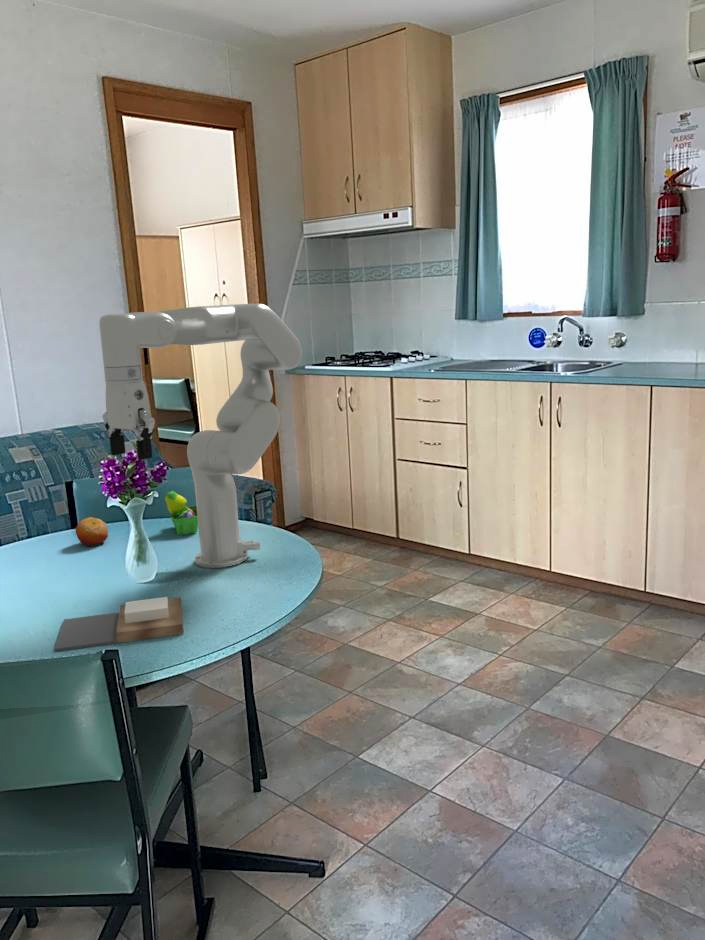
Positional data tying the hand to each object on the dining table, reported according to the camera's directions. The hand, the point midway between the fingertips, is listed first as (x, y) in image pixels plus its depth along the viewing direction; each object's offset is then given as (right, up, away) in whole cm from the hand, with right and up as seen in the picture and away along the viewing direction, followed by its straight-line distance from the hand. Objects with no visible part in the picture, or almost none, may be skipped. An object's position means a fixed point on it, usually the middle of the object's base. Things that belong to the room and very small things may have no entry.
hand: (131, 456), depth 164 cm
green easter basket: (0, -20, +51) cm, 55 cm away
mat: (-4, -34, -14) cm, 37 cm away
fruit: (-22, -23, +42) cm, 53 cm away
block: (+7, -31, -12) cm, 34 cm away
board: (+7, -33, -12) cm, 36 cm away
